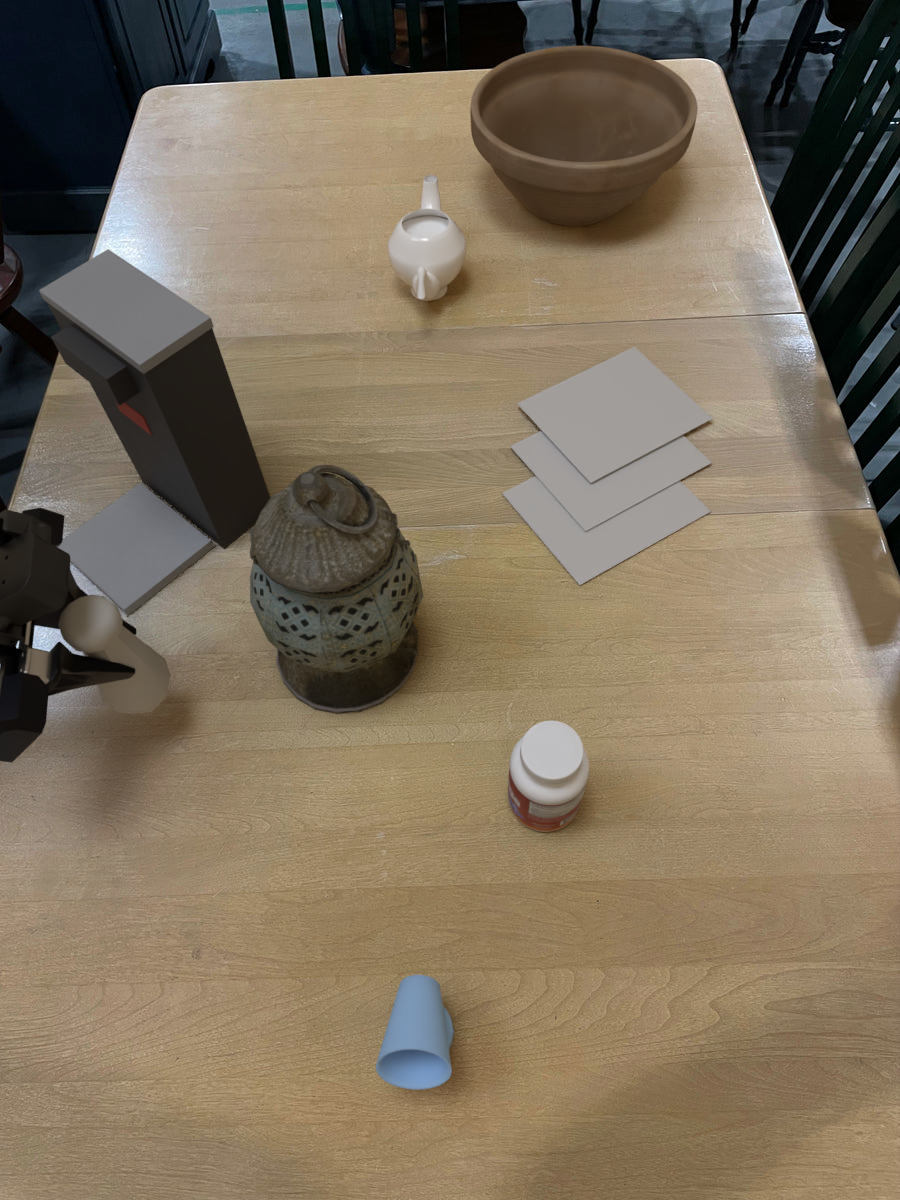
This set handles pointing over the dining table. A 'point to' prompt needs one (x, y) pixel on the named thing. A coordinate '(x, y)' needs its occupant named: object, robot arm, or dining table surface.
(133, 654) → the salt shaker
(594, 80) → the flower pot
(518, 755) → the pill bottle
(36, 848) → the dining table surface
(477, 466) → the dining table surface
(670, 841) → the dining table surface
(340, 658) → the lantern
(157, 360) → the coffee maker
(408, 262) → the teapot
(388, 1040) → the blue mug
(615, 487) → the paper stack
